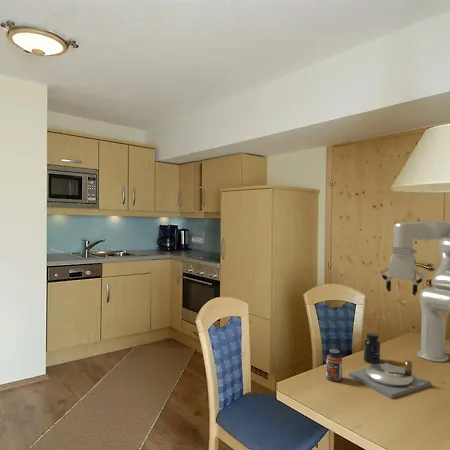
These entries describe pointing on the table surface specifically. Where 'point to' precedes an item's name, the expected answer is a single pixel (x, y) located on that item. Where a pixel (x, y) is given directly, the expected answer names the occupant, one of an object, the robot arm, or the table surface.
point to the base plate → (389, 390)
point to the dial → (391, 374)
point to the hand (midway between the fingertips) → (401, 292)
